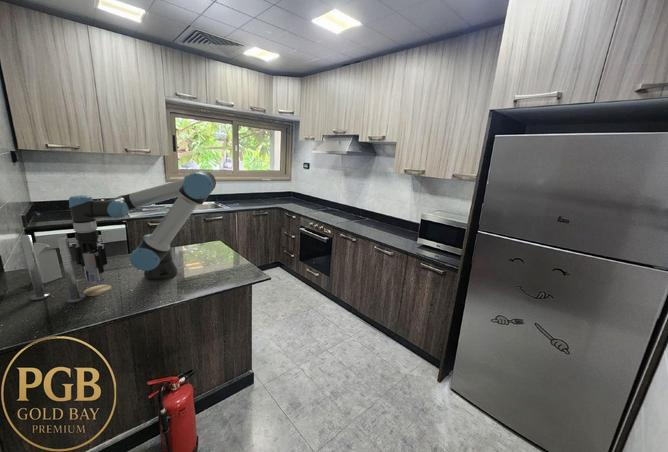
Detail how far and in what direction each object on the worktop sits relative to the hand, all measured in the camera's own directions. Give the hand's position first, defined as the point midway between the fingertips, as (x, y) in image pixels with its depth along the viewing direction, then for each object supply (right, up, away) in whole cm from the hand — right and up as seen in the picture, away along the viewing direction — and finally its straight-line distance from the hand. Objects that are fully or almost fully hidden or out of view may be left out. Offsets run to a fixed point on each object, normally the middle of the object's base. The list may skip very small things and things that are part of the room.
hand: (95, 278), depth 125 cm
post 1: (-19, -7, -6) cm, 21 cm away
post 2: (-3, -8, -7) cm, 11 cm away
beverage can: (0, -2, 0) cm, 2 cm away
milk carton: (-32, -3, +10) cm, 33 cm away
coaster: (0, -6, +2) cm, 6 cm away
